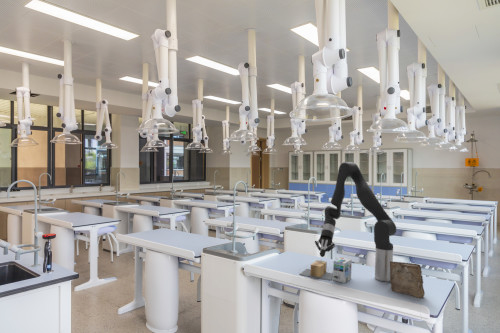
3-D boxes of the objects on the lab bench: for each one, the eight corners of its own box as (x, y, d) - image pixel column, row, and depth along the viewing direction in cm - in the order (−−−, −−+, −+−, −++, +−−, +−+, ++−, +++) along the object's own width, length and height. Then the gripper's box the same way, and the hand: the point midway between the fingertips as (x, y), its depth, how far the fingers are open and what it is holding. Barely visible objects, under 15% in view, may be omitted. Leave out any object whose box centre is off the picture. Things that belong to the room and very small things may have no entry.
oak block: (326, 261, 194) (321, 266, 183) (326, 271, 194) (320, 277, 183) (316, 260, 197) (310, 264, 186) (316, 270, 197) (310, 275, 186)
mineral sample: (425, 297, 159) (425, 265, 159) (422, 299, 156) (423, 267, 156) (389, 288, 170) (390, 258, 171) (386, 290, 167) (387, 260, 168)
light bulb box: (344, 283, 175) (345, 263, 176) (332, 280, 179) (333, 260, 180) (351, 278, 184) (352, 259, 184) (340, 276, 188) (340, 257, 188)
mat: (336, 274, 191) (336, 273, 191) (330, 280, 179) (330, 280, 179) (306, 269, 199) (306, 268, 199) (299, 274, 187) (299, 274, 187)
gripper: (316, 227, 208) (309, 251, 197) (337, 230, 201) (332, 254, 190) (318, 235, 212) (312, 258, 201) (339, 237, 206) (333, 261, 195)
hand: (321, 256), depth 196 cm, fingers closed
